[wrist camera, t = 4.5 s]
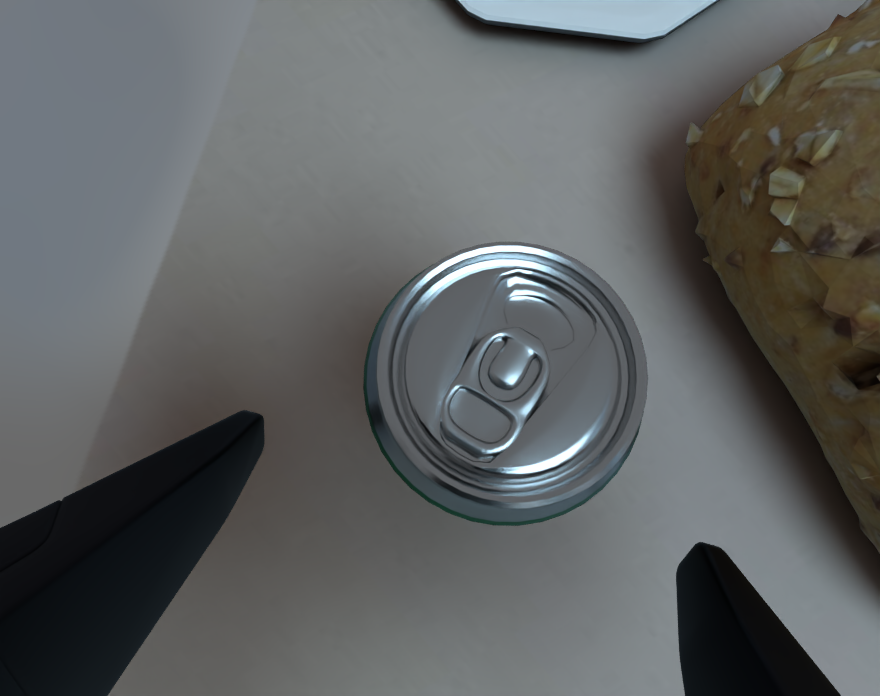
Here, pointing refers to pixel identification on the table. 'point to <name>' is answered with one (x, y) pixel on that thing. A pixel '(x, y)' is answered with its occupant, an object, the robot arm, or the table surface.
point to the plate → (590, 16)
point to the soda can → (506, 383)
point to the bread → (806, 234)
